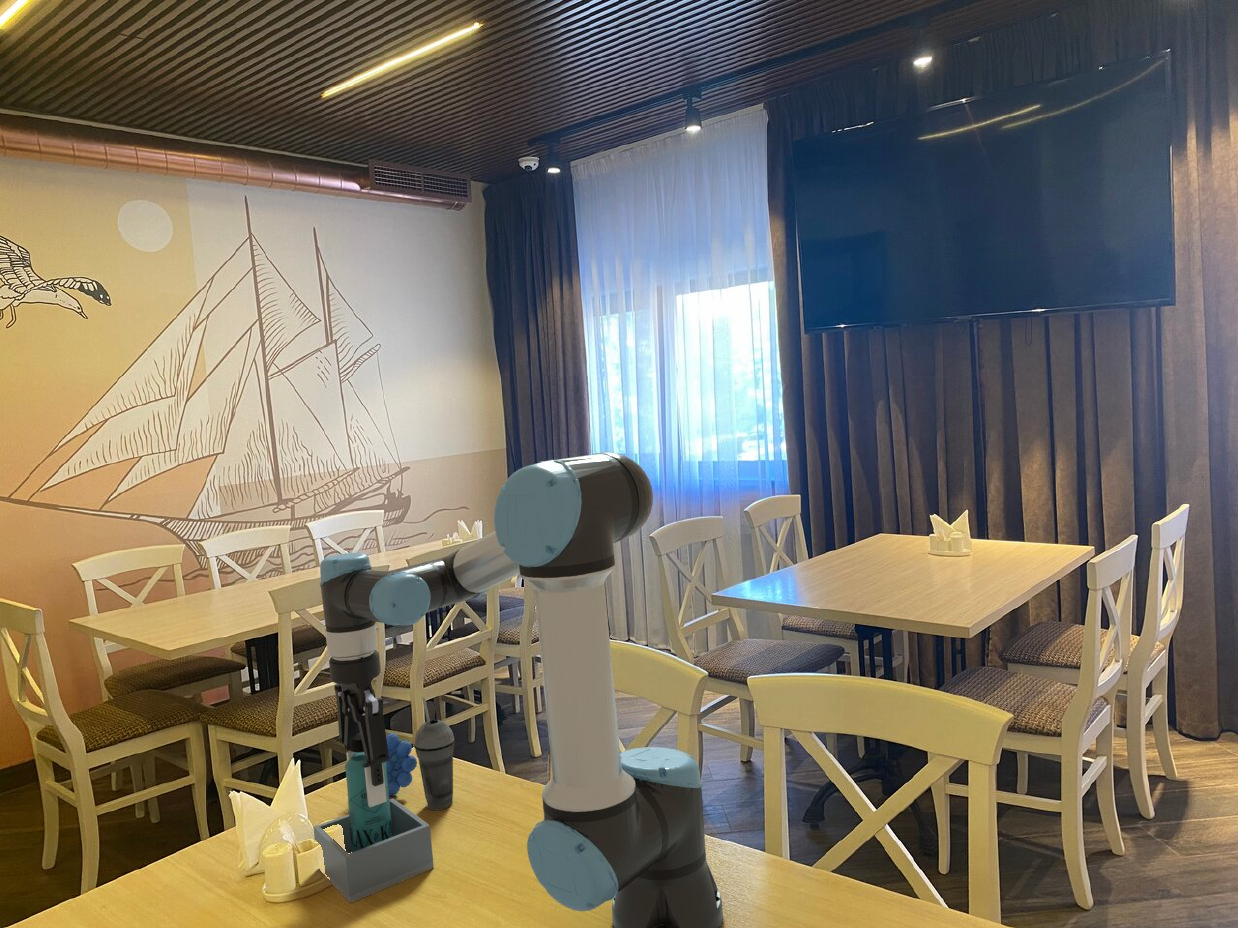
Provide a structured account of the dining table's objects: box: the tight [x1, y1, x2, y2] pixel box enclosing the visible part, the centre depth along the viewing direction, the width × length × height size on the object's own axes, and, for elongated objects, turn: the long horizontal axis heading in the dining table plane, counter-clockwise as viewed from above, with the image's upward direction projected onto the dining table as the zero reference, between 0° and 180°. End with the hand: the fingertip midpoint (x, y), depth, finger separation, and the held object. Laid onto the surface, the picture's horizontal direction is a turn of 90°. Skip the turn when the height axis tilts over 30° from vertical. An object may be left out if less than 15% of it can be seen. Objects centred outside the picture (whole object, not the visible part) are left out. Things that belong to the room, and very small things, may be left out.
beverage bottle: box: [344, 732, 393, 852], centre depth 143 cm, size 6×7×20 cm
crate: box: [313, 798, 435, 904], centre depth 143 cm, size 14×14×7 cm
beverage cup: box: [413, 697, 456, 811], centre depth 164 cm, size 7×7×20 cm
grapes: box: [386, 733, 418, 797], centre depth 170 cm, size 12×7×12 cm, turn 75°
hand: (368, 796), depth 143 cm, fingers closed on beverage bottle, 6 cm apart
